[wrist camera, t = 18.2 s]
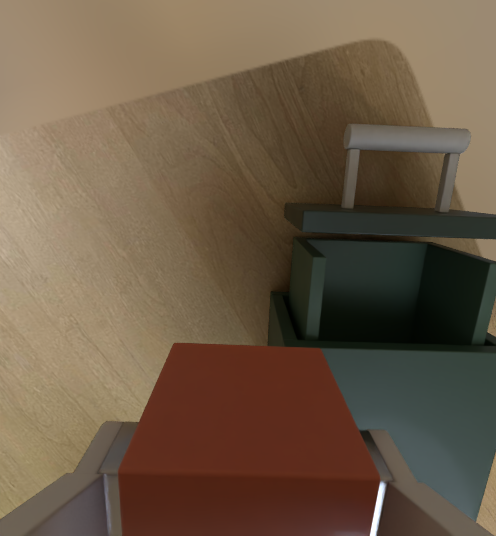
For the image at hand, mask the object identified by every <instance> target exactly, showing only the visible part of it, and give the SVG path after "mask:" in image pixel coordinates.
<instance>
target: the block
mask: <svg viewBox="0 0 496 536" xmlns="http://www.w3.org/2000/svg"><path fill="white" fill-rule="evenodd" d="M380 481H381V478H380V474H379V472H378V470H377V468H376V466H375V464H374V462H373V459H372V457H371V455H370V453H369V451H368V449H367V447H366V444H365V442H364V440H363V438H362V436H361V434H360V432H359V429H358V427H357V425H356V423H355V421H354V419H353V417H352V415H351V412H350V410H349V408H348V406H347V404H346V402H345V400H344V397H343V395H342V393H341V391H340V389H339V387H338V385H337V382H336V380H335V378H334V376H333V374H332V372H331V370H330V367H329V365H328V363H327V361H326V359H325V357H324V355H323V353H322V350H321V349H320V348H303V347H276V346H250V345H223V344H196V343H174V344H173V346H172V348H171V350H170V353H169V355H168V357H167V359H166V362H165V364H164V366H163V369H162V371H161V373H160V375H159V378H158V380H157V382H156V384H155V387H154V389H153V391H152V394H151V396H150V398H149V400H148V403H147V405H146V407H145V409H144V412H143V414H142V416H141V419H140V421H139V423H138V425H137V428H136V430H135V432H134V435H133V437H132V439H131V441H130V444H129V446H128V448H127V450H126V453H125V455H124V457H123V460H122V462H121V464H120V466H119V469H118V483H119V498H120V513H121V527H122V536H370V533H371V528H372V523H373V518H374V512H375V507H376V502H377V497H378V491H379V486H380Z"/></svg>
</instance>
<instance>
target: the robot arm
mask: <svg viewBox="0 0 496 536" xmlns="http://www.w3.org/2000/svg"><path fill="white" fill-rule="evenodd" d="M138 423H139V422H118V421H106V422H105V423H103V424H102V425H101V427H100V429H99V430H98V432H97V434H96V435H95V437H94V439H93V440H92V442H91V444H90V445H89V447H88V449H87V450H86V452H85V454H84V456H83V457H82V459H81V461H80V462H79V464H78V466H77V467H76V469H75V471H74V472H73V473H66V474H65V475H63V476H62V477H60V478H59V479H58V480H56V481H55V482H53V483H52V484H50V485H49V486H48V487H46V488H45V489H43V490H42V491H40V492H39V493H37V494H36V495H35V496H33V497H32V498H30V499H29V500H27V501H26V502H25V503H23V504H22V505H20V506H19V507H17V508H16V509H15V510H13V511H12V512H10V513H9V514H7V515H6V516H5V517H3V518H2V519H0V536H122V527H121V513H120V498H119V483H118V469H119V466H120V464H121V462H122V460H123V457H124V455H125V453H126V450H127V448H128V446H129V444H130V441H131V439H132V437H133V435H134V432H135V430H136V428H137V425H138ZM359 432H360V434H361V436H362V438H363V440H364V442H365V444H366V447H367V449H368V451H369V453H370V455H371V457H372V459H373V462H374V464H375V466H376V468H377V470H378V472H379V474H380V478H381V481H380V486H379V491H378V497H377V502H376V507H375V512H374V518H373V523H372V528H371V533H370V536H494V535H492V534H491V533H490V532H488V531H487V530H486V529H484V528H483V527H482V526H480V525H479V524H478V523H476V522H475V521H474V520H472V519H471V518H470V517H468V516H467V515H466V514H464V513H463V512H462V511H460V510H459V509H458V508H457V507H455V506H454V505H453V504H451V503H450V502H449V501H447V500H446V499H445V498H443V497H442V496H441V495H439V494H438V493H437V492H435V491H434V490H433V489H431V488H430V487H429V486H427V485H426V484H425V483H418V482H417V480H416V479H415V477H414V475H413V474H412V472H411V470H410V469H409V467H408V465H407V464H406V462H405V460H404V458H403V457H402V455H401V453H400V452H399V450H398V448H397V447H396V445H395V443H394V442H393V440H392V438H391V436H390V435H389V433H388V432H387V431H386V430H383V429H366V430H359Z"/></svg>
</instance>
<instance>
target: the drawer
mask: <svg viewBox="0 0 496 536" xmlns="http://www.w3.org/2000/svg"><path fill="white" fill-rule="evenodd" d="M470 138H471V136H470V132H469V130H467V129H458V128H456V129H455V128H435V127H413V126H391V125H368V124H348V126H347V127H346V130H345V134H344V148H345V149H349V150H348V151H347V160H346V169H345V178H344V187H343V196H342V205H336V204H310V203H285V210H284V218H285V219H286V220H288V221H289V222H290V223H291V224H293V225H294V226H295V227H296V228H298V229H299V230H300V231H302V232H312V233H339V234H366V235H393V236H420V237H447V238H473V239H496V215H494V214H486V213H477V212H469V211H460V210H451V209H449V208H450V203H451V197H452V192H453V187H454V182H455V177H456V172H457V166H458V161H459V156H460V154H461V153H463V152H464V151H465V150H466V149H467V147H468V145H469V143H470ZM360 150H378V151H401V152H425V153H448V154H445V156H444V162H443V167H442V173H441V178H440V184H439V189H438V195H437V200H436V206H435V208H413V207H387V206H362V205H354V197H355V189H356V181H357V172H358V164H359V155H360ZM495 297H496V261H492V260H489V259H486V258H483V257H479V256H476V255H473V254H469V253H466V252H463V251H459V250H456V249H453V248H449V247H446V246H443V245H439V244H436V243H433V242H415V241H388V240H361V239H334V238H307V237H294V238H293V251H292V264H291V278H290V291H289V304H288V314H289V317H290V320H291V323H292V326H293V328H294V331H295V334H296V337H297V340H305V341H339V342H373V343H407V344H441V345H474V346H484V342H485V338H486V334H487V330H488V326H489V322H490V318H491V313H492V309H493V305H494V301H495Z"/></svg>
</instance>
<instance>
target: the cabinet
mask: <svg viewBox="0 0 496 536" xmlns="http://www.w3.org/2000/svg"><path fill="white" fill-rule="evenodd" d="M288 304H289V292H271V295H270V312H269V329H268V345H267V346H276V347H303V348H320V349H321V350H322V353H323V355H324V357H325V359H326V361H327V363H328V365H329V367H330V370H331V372H332V374H333V376H334V378H335V380H336V382H337V385H338V387H339V389H340V391H341V393H342V395H343V397H344V400H345V402H346V404H347V406H348V408H349V410H350V412H351V415H352V417H353V419H354V421H355V423H356V425H357V427H358V429H359V430H366V429H383V430H386V431H387V432H388V433H389V435H390V436H391V438H392V440H393V442H394V443H395V445H396V447H397V448H398V450H399V452H400V453H401V455H402V457H403V458H404V460H405V462H406V464H407V465H408V467H409V469H410V470H411V472H412V474H413V475H414V477H415V479H416V480H417V482H418V483H425V484H426V485H427V486H429V487H430V488H431V489H433V490H434V491H435V492H437V493H438V494H439V495H441V496H442V497H443V498H445V499H446V500H447V501H449V502H450V503H451V504H453V505H454V506H455V507H457V508H458V509H459V510H460V511H462V512H463V513H464V514H466V515H467V516H468V517H470V518H471V519H472V520H474V521H475V522H476V520H477V516H478V513H479V509H480V506H481V502H482V498H483V495H484V491H485V488H486V484H487V481H488V477H489V474H490V470H491V467H492V463H493V459H494V456H495V452H496V337H495V336H493V335H491V334H490V333H488V332H487V334H486V338H485V342H484V346H474V345H441V344H407V343H373V342H339V341H305V340H297V337H296V334H295V331H294V328H293V326H292V323H291V320H290V317H289V314H288Z"/></svg>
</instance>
